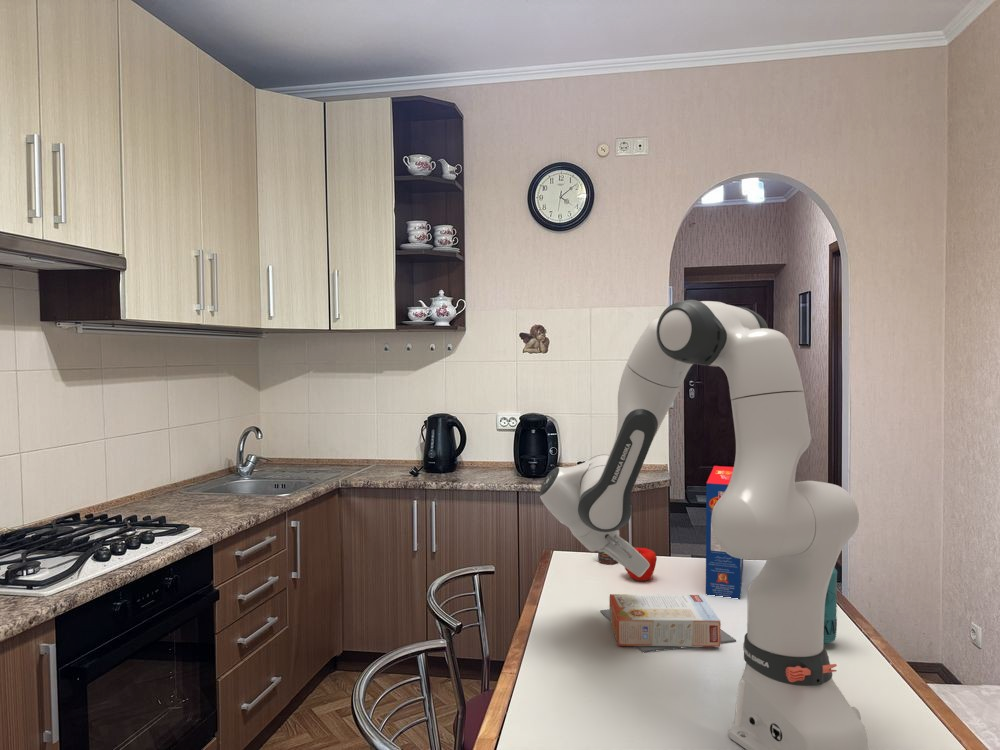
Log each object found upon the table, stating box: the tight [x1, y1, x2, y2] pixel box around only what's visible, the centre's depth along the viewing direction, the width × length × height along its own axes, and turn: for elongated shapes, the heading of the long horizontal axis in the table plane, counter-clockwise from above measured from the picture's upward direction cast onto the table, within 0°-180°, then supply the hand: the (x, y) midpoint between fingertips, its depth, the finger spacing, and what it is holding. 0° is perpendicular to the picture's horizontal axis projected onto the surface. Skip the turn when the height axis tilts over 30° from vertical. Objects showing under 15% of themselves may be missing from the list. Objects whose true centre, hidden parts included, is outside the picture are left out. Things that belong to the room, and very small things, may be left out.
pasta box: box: [705, 465, 744, 600], centre depth 176 cm, size 28×8×28 cm, turn 158°
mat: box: [600, 608, 737, 653], centre depth 146 cm, size 22×21×1 cm
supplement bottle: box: [597, 551, 618, 565], centre depth 192 cm, size 6×6×11 cm
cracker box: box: [608, 593, 722, 648], centre depth 141 cm, size 14×6×21 cm
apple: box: [624, 547, 658, 582], centre depth 177 cm, size 9×9×8 cm
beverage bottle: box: [823, 567, 838, 644], centre depth 136 cm, size 6×7×20 cm
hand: (640, 572), depth 144 cm, fingers closed
